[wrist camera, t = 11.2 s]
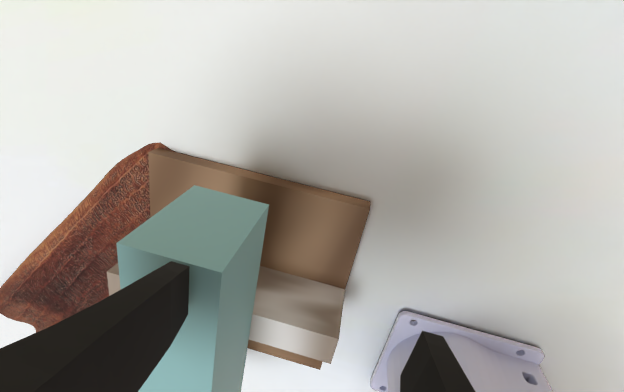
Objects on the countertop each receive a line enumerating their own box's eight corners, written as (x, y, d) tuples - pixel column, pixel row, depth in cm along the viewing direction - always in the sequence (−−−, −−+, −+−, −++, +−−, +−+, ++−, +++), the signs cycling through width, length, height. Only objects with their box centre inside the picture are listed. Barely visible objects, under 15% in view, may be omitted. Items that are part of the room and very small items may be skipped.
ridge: (370, 201, 19) (368, 247, 15) (321, 358, 25) (310, 425, 21) (158, 147, 20) (96, 175, 16) (161, 310, 26) (116, 364, 22)
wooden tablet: (143, 123, 19) (251, 257, 20) (169, 119, 21) (265, 240, 22) (-20, 304, 29) (56, 385, 30) (7, 289, 31) (78, 366, 32)
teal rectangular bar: (237, 412, 22) (201, 508, 17) (186, 397, 22) (138, 486, 17) (268, 204, 15) (221, 272, 10) (194, 185, 15) (116, 242, 10)
